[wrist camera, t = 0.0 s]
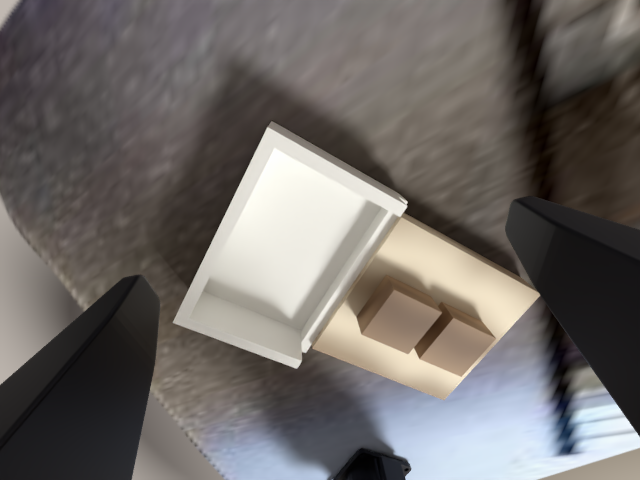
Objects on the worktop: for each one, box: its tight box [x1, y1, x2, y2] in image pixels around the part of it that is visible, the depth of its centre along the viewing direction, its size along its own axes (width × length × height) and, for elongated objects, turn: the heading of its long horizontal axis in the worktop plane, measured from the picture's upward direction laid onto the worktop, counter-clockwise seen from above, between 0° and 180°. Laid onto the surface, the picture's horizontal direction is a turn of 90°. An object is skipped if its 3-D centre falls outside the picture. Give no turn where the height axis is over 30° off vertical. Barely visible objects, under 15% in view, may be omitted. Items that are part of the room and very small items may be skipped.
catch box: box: [173, 121, 408, 369], centre depth 23 cm, size 14×10×4 cm
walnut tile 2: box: [414, 302, 496, 377], centre depth 25 cm, size 4×4×2 cm
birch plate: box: [312, 212, 540, 400], centre depth 27 cm, size 12×13×2 cm
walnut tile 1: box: [356, 275, 442, 354], centre depth 24 cm, size 4×4×2 cm
